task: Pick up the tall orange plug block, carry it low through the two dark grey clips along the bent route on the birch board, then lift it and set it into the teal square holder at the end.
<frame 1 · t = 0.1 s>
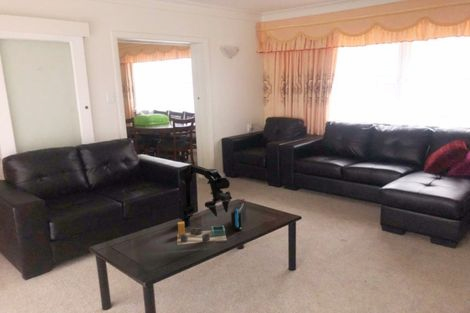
hand: (221, 214, 227), 15 cm above the table, tool pointing down, fingers open, 9 cm apart
game console: (239, 224, 252), on the table
route board: (201, 238, 231), on the table
plug block: (182, 236, 232), point 1 cm above the table, touching route board
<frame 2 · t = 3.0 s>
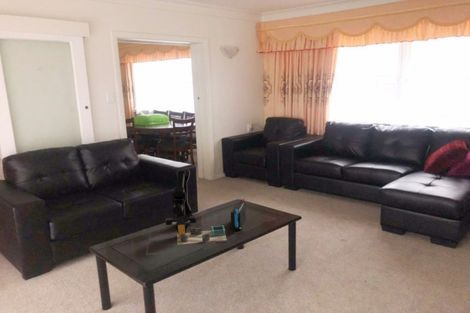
hand: (181, 233, 232), 3 cm above the table, tool pointing down, fingers closed on plug block, 4 cm apart
plug block: (182, 236, 232), point 1 cm above the table, touching gripper, route board
everything else where it was.
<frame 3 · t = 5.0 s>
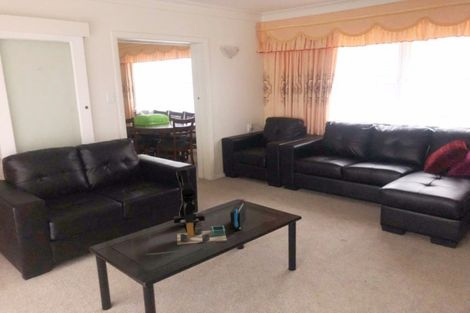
hand: (190, 231, 229), 5 cm above the table, tool pointing down, fingers closed on plug block, 4 cm apart
plug block: (190, 234, 229), point 3 cm above the table, touching gripper
everything else where it was.
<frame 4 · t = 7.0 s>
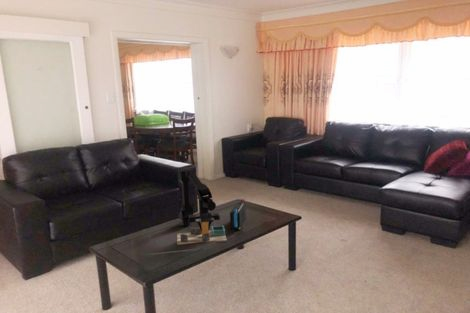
hand: (205, 230, 230), 5 cm above the table, tool pointing down, fingers closed on plug block, 4 cm apart
plug block: (205, 233, 230), point 3 cm above the table, touching gripper
everything else where it was.
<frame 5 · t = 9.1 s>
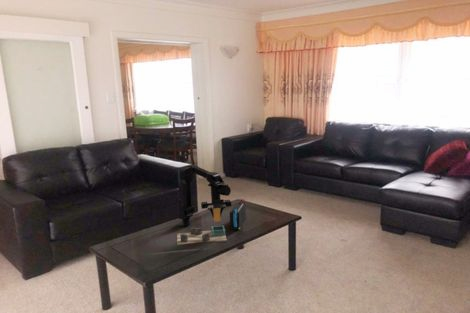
hand: (216, 217, 232), 12 cm above the table, tool pointing down, fingers closed on plug block, 4 cm apart
plug block: (217, 220, 232), point 10 cm above the table, touching gripper
everything else where it was.
when the fingers open (5 cm above the table, at t = 11.0 s): plug block drops 2 cm, resting on route board.
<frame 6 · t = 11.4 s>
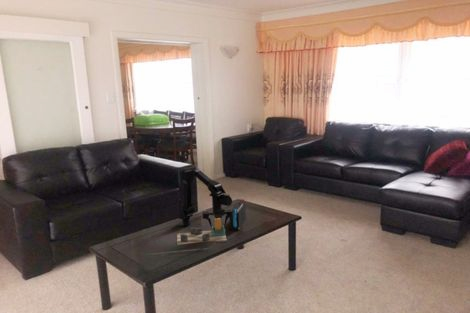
hand: (218, 226, 234), 5 cm above the table, tool pointing down, fingers open, 8 cm apart
plug block: (218, 232, 234), point 2 cm above the table, touching route board
everything else where it was.
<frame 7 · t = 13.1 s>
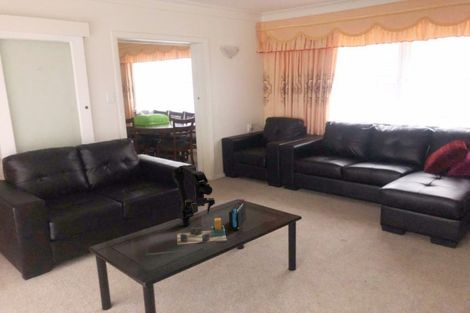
hand: (200, 214, 236), 13 cm above the table, tool pointing down, fingers open, 9 cm apart
nothing on the table moved.
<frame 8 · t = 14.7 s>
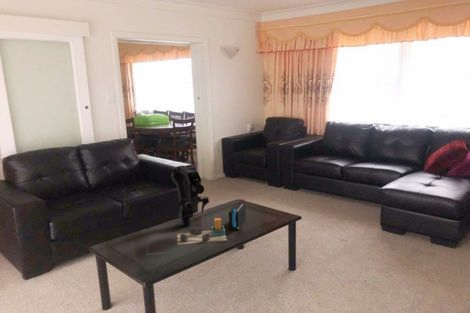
hand: (194, 213, 237), 13 cm above the table, tool pointing down, fingers open, 9 cm apart
nothing on the table moved.
at the end: plug block 0.0 cm from the target spot, point 1.6 cm above the table; plug block tilted 0°; the gripper is holding nothing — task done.
